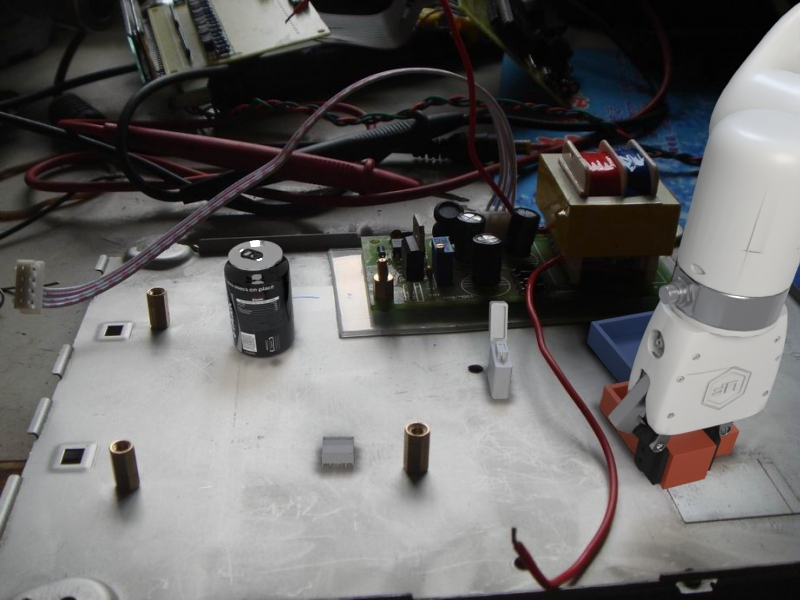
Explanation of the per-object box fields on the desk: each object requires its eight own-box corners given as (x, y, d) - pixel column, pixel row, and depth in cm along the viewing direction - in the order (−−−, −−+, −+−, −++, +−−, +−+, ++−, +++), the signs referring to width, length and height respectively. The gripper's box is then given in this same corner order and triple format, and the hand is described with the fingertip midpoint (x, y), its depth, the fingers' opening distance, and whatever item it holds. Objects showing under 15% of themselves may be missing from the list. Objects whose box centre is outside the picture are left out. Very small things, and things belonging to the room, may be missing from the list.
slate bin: (656, 329, 88) (662, 309, 86) (704, 379, 81) (711, 358, 79) (586, 342, 86) (591, 321, 84) (629, 395, 79) (634, 373, 77)
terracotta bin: (676, 391, 79) (683, 369, 78) (731, 453, 72) (740, 431, 71) (599, 407, 77) (604, 385, 75) (647, 473, 70) (654, 450, 68)
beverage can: (257, 320, 88) (247, 231, 81) (307, 336, 86) (301, 246, 79) (222, 353, 83) (207, 261, 76) (273, 371, 81) (264, 278, 74)
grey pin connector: (321, 468, 70) (321, 454, 69) (323, 451, 71) (322, 436, 70) (354, 468, 70) (353, 453, 69) (354, 450, 72) (354, 436, 70)
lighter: (508, 398, 78) (516, 338, 73) (491, 398, 78) (499, 338, 73) (499, 355, 84) (506, 296, 79) (483, 355, 84) (489, 296, 79)
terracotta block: (677, 445, 66) (687, 412, 63) (705, 479, 63) (717, 445, 60) (637, 455, 65) (646, 421, 62) (663, 490, 62) (673, 456, 59)
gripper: (652, 342, 48) (605, 524, 59) (863, 298, 52) (783, 476, 63) (594, 279, 54) (561, 455, 64) (788, 244, 58) (727, 415, 68)
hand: (671, 464), depth 63 cm, fingers closed on terracotta block, 4 cm apart
